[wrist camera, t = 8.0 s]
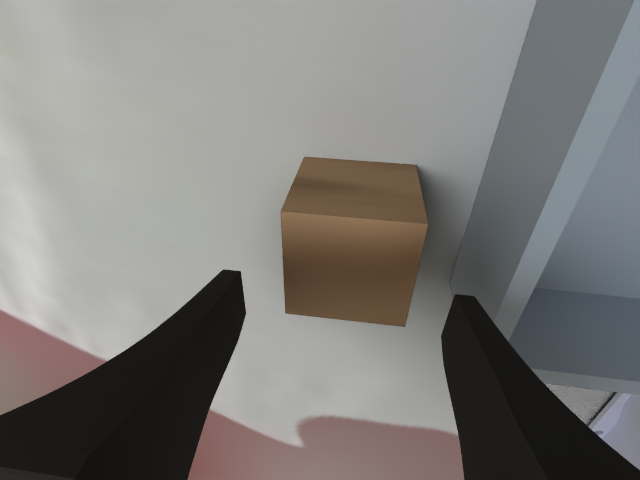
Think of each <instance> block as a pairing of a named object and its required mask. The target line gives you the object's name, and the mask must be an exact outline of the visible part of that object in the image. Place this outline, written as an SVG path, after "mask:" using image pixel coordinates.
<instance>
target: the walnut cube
mask: <svg viewBox="0 0 640 480" xmlns="http://www.w3.org/2000/svg"><path fill="white" fill-rule="evenodd" d="M281 228H282V249H283V271H284V292H285V313H287V314H296V315H305V316H313V317H322V318H331V319H340V320H349V321H358V322H367V323H376V324H385V325H393V326H402V327H405V325H406V320H407V316H408V312H409V307H410V303H411V298H412V294H413V290H414V285H415V281H416V276H417V272H418V268H419V263H420V259H421V254H422V250H423V246H424V241H425V237H426V232H427V228H428V220H427V215H426V211H425V206H424V201H423V196H422V191H421V186H420V182H419V177H418V172H417V167H416V165H411V164H397V163H383V162H369V161H355V160H341V159H327V158H313V157H304V158H303V161H302V163H301V165H300V168H299V170H298V172H297V175H296V177H295V179H294V182H293V184H292V186H291V189H290V191H289V193H288V196H287V198H286V200H285V203H284V205H283V207H282V210H281Z"/></svg>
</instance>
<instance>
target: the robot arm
mask: <svg viewBox="0 0 640 480" xmlns="http://www.w3.org/2000/svg"><path fill="white" fill-rule="evenodd" d="M245 315H246V309H245V302H244V294H243V286H242V278H241V271H233V270H222V271H221V272H220V273H219V274H218V275H217V276H216V277H215V278H213V279H212V280H211V281H210V282H209V283H208V284H207V285H206V286H205V287H204V288H203V289H202V290H201V291H200V292H198V293H197V294H196V295H195V296H194V297H193V298H192V299H191V300H190V301H188V302H187V303H186V304H185V305H184V306H183V307H182V308H180V309H179V310H178V311H177V312H176V313H175V314H173V315H172V316H171V317H170V318H168V319H167V320H166V321H165V322H164V323H162V324H161V325H160V326H159V327H157V328H156V329H155V330H153V331H152V332H151V333H149V334H148V335H147V336H145V337H144V338H143V339H141V340H140V341H138V342H137V343H136V344H134V345H133V346H131V347H130V348H128V349H127V350H125V351H124V352H122V353H121V354H119V355H117V356H116V357H114V358H112V359H111V360H109V361H107V362H106V363H104V364H102V365H101V366H99V367H97V368H96V369H94V370H92V371H91V372H89V373H87V374H85V375H83V376H82V377H80V378H78V379H76V380H74V381H72V382H71V383H68V384H66V385H65V386H63V387H61V388H59V389H57V390H55V391H53V392H51V393H49V394H47V395H45V396H43V397H40V398H38V399H36V400H34V401H31V402H29V403H27V404H25V405H23V406H21V407H18V408H16V409H14V410H12V411H10V412H7V413H5V414H2V415H0V480H187V479H188V476H189V472H190V468H191V465H192V462H193V459H194V455H195V452H196V449H197V445H198V442H199V439H200V436H201V432H202V429H203V426H204V423H205V420H206V417H207V414H208V411H209V408H210V406H211V403H212V400H213V398H214V395H215V393H216V391H217V388H218V386H219V384H220V382H221V379H222V377H223V375H224V372H225V370H226V368H227V365H228V363H229V361H230V358H231V356H232V354H233V351H234V349H235V347H236V344H237V342H238V339H239V336H240V333H241V329H242V326H243V322H244V319H245ZM441 339H442V352H443V362H444V369H445V374H446V378H447V383H448V388H449V392H450V397H451V402H452V406H453V411H454V415H455V420H456V425H457V429H458V434H459V440H460V446H461V454H462V462H463V471H464V479H465V480H640V395H634V394H626V393H618V392H617V394H616V395H615V396H614V397H613V398H612V399H611V401H610V402H609V403H608V404H607V405H606V406H605V407H604V409H603V410H602V411H601V412H600V413H599V414H598V416H597V417H596V418H595V419H594V420H593V421H592V423H591V424H590V425H589V426H587V425H586V424H585V423H583V422H582V421H581V420H580V419H579V418H578V417H577V416H576V415H575V414H574V413H573V412H572V411H571V410H570V409H569V408H568V407H567V406H566V405H565V404H564V403H563V402H562V401H561V400H560V399H559V398H558V397H557V396H556V395H555V394H554V393H553V392H552V391H551V390H550V389H549V388H548V387H547V386H546V385H545V384H544V383H543V382H542V381H541V380H540V379H539V378H538V376H537V375H536V374H535V373H534V372H533V371H532V370H531V369H530V367H529V366H528V365H527V364H526V363H525V362H524V360H523V359H522V358H521V357H520V356H519V354H518V353H517V352H516V351H515V349H514V348H513V347H512V346H511V344H510V343H509V342H508V340H507V339H506V338H505V337H504V335H503V334H502V333H501V331H500V330H499V329H498V327H497V326H496V325H495V323H494V322H493V321H492V319H491V318H490V317H489V315H488V314H487V312H486V311H485V310H484V308H483V307H482V306H481V304H480V303H479V302H478V300H477V299H476V298H475V296H469V295H460V294H455V296H454V299H453V302H452V305H451V308H450V311H449V314H448V317H447V320H446V323H445V326H444V329H443V332H442V335H441Z"/></svg>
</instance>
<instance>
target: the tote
mask: <svg viewBox="0 0 640 480" xmlns="http://www.w3.org/2000/svg"><path fill="white" fill-rule="evenodd" d="M450 287H451V291H452V296H453V299H454V296H455V294H460V295H469V296H475V298H476V299H477V300H478V302H479V303H480V304H481V306H482V307H483V308H484V310H485V311H486V312H487V314H488V315H489V317H490V318H491V319H492V321H493V322H494V323H495V325H496V326H497V327H498V329H499V330H500V331H501V333H502V334H503V335H504V337H505V338H506V339H507V340H508V342H509V343H510V344H511V346H512V347H513V348H514V349H515V351H516V352H517V353H518V354H519V356H520V357H521V358H522V359H523V360H524V362H525V363H526V364H527V365H528V366H529V367H530V369H531V370H532V371H533V372H534V373H535V374H536V375H537V376H538V378H539V379H540V380H541V381H542V382H543V383H547V384H555V385H563V386H571V387H579V388H587V389H594V390H602V391H610V392H618V393H626V394H634V395H640V0H537V3H536V6H535V9H534V12H533V16H532V19H531V22H530V25H529V29H528V32H527V35H526V38H525V41H524V45H523V48H522V51H521V54H520V58H519V61H518V64H517V67H516V70H515V74H514V77H513V80H512V83H511V87H510V90H509V93H508V96H507V100H506V103H505V106H504V109H503V112H502V116H501V119H500V122H499V125H498V129H497V132H496V135H495V138H494V142H493V145H492V148H491V151H490V154H489V158H488V161H487V164H486V167H485V171H484V174H483V177H482V180H481V183H480V187H479V190H478V193H477V196H476V200H475V203H474V206H473V209H472V213H471V216H470V219H469V222H468V225H467V229H466V232H465V235H464V238H463V242H462V245H461V248H460V251H459V254H458V258H457V261H456V264H455V267H454V271H453V274H452V277H451V280H450Z"/></svg>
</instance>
